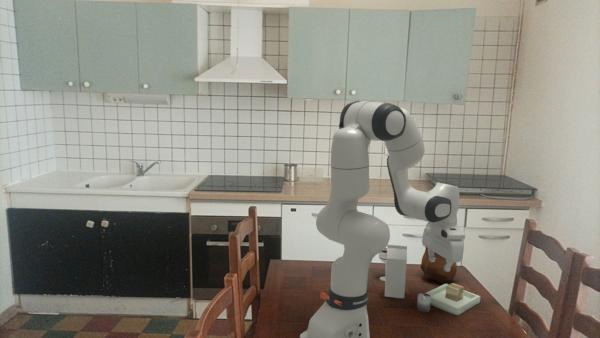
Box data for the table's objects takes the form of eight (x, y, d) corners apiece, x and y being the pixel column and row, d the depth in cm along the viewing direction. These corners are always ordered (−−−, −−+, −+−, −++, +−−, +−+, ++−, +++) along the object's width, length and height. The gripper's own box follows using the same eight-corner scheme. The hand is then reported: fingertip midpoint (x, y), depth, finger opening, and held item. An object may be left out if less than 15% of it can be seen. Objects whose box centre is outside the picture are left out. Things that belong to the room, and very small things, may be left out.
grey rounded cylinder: (425, 313, 150) (426, 299, 149) (414, 308, 153) (415, 295, 152) (432, 309, 153) (433, 296, 152) (421, 305, 156) (422, 291, 155)
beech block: (456, 301, 157) (457, 290, 157) (445, 297, 161) (446, 286, 160) (463, 298, 160) (464, 286, 159) (451, 294, 164) (452, 282, 163)
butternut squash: (451, 275, 184) (455, 217, 181) (459, 288, 171) (464, 226, 167) (417, 272, 186) (421, 215, 182) (423, 285, 173) (427, 224, 169)
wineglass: (393, 276, 181) (395, 248, 180) (394, 282, 175) (396, 254, 173) (377, 274, 182) (378, 247, 180) (377, 281, 176) (379, 252, 174)
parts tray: (457, 315, 149) (457, 308, 148) (421, 301, 159) (422, 294, 159) (479, 302, 159) (480, 296, 159) (445, 289, 169) (445, 283, 169)
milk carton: (404, 299, 160) (407, 249, 157) (384, 296, 162) (387, 247, 159) (403, 291, 167) (406, 243, 164) (384, 289, 169) (387, 241, 166)
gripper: (419, 220, 161) (416, 256, 163) (451, 236, 142) (447, 277, 143) (434, 220, 163) (431, 256, 165) (468, 236, 143) (464, 276, 145)
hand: (439, 266), depth 154 cm, fingers open, 8 cm apart
